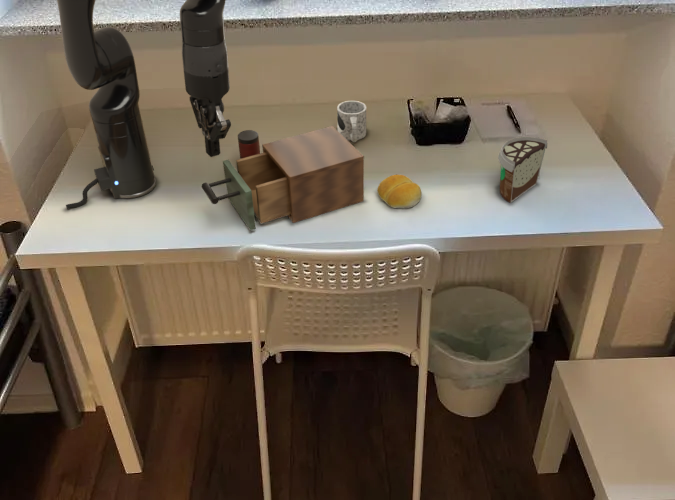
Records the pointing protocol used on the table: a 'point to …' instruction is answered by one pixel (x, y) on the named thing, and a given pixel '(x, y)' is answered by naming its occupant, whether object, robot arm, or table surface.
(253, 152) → the red canister
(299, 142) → the cabinet
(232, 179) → the drawer
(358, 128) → the mug
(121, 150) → the robot arm
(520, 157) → the food container
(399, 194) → the bread roll
